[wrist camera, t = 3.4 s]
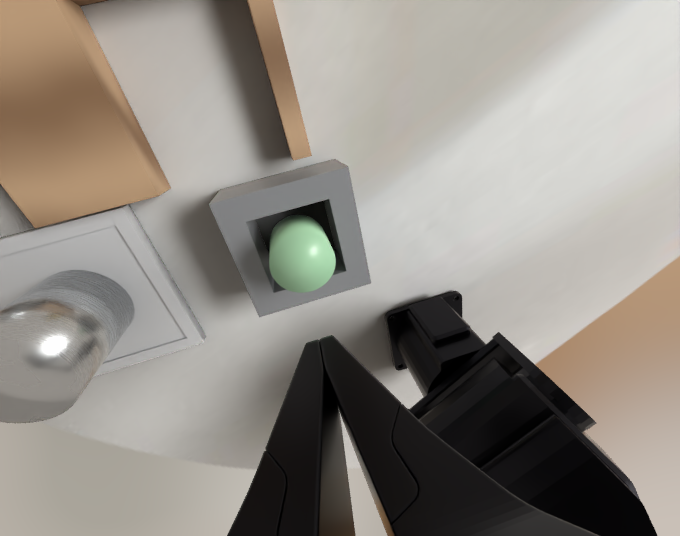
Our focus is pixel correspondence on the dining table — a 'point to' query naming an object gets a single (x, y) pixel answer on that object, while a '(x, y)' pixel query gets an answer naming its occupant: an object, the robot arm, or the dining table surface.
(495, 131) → the dining table surface
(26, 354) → the loose steel billet
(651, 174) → the dining table surface
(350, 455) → the dining table surface
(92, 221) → the tray
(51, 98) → the frame
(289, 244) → the button
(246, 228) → the button housing
